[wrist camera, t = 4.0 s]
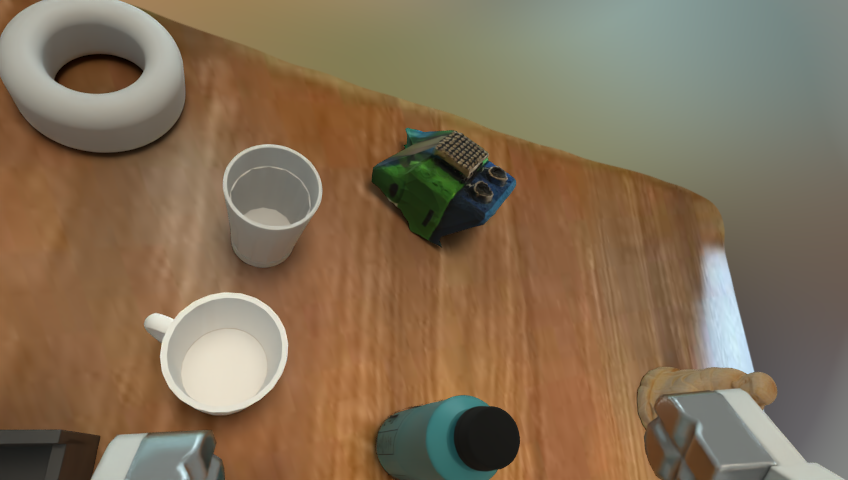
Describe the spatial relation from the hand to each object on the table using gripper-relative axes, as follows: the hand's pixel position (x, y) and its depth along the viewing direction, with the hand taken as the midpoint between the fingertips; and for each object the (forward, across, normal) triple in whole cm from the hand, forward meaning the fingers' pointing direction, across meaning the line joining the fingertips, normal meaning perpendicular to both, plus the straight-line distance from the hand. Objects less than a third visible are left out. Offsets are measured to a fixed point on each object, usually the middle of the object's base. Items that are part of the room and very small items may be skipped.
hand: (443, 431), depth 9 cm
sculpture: (+49, -5, +19) cm, 53 cm away
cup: (+41, +13, +19) cm, 47 cm away
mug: (+30, +16, +26) cm, 43 cm away
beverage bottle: (+27, 0, +35) cm, 44 cm away
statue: (+34, -35, +43) cm, 65 cm away
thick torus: (+50, +28, +6) cm, 58 cm away
